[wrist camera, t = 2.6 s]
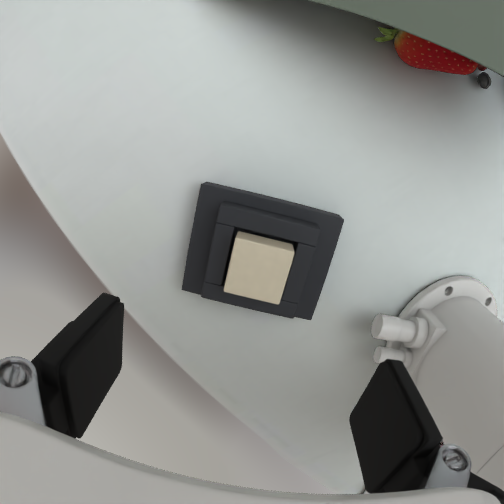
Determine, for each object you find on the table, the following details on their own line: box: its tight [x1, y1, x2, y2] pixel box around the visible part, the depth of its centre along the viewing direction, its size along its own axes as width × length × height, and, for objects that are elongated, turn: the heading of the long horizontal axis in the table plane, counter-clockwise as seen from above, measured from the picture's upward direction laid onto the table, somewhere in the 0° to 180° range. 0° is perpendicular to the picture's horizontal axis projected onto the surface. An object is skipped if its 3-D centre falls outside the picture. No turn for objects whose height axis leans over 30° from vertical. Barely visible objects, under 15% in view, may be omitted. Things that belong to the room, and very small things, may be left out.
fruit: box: [374, 27, 478, 75], centre depth 16 cm, size 5×5×8 cm
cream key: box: [224, 231, 294, 304], centre depth 20 cm, size 4×4×2 cm
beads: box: [477, 64, 491, 89], centre depth 17 cm, size 8×2×1 cm
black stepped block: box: [182, 182, 344, 320], centre depth 22 cm, size 10×8×4 cm
